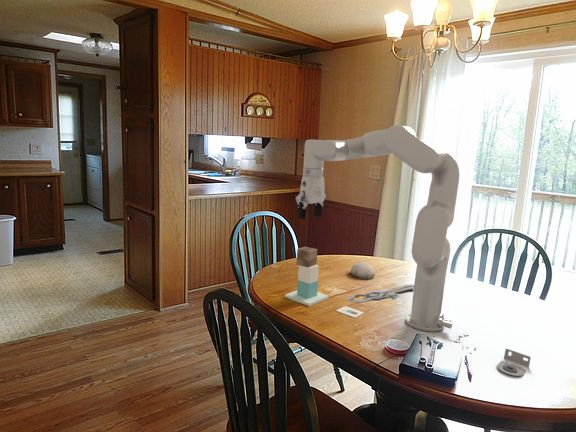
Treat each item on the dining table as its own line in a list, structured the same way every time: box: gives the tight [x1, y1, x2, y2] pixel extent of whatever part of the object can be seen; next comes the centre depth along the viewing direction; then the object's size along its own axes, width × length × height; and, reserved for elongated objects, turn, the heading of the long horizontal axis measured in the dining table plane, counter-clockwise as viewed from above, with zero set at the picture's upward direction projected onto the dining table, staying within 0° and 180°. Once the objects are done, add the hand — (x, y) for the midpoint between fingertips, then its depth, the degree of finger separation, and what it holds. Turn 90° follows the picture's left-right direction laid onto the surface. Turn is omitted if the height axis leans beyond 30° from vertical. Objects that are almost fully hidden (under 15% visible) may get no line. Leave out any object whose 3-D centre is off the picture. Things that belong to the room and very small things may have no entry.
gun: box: [347, 283, 414, 304], centre depth 171 cm, size 39×2×10 cm
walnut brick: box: [296, 246, 318, 268], centre depth 161 cm, size 6×6×6 cm
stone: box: [350, 260, 376, 280], centre depth 194 cm, size 13×10×8 cm
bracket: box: [496, 348, 532, 377], centre depth 118 cm, size 7×10×4 cm, turn 138°
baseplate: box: [284, 289, 330, 307], centre depth 163 cm, size 12×12×1 cm
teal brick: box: [296, 279, 319, 299], centre depth 162 cm, size 6×6×6 cm
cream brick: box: [297, 264, 320, 284], centre depth 161 cm, size 6×6×6 cm
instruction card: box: [335, 305, 365, 319], centre depth 151 cm, size 8×6×1 cm
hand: (310, 217), depth 163 cm, fingers open, 9 cm apart
